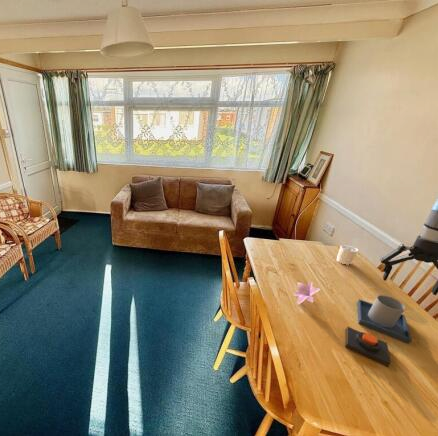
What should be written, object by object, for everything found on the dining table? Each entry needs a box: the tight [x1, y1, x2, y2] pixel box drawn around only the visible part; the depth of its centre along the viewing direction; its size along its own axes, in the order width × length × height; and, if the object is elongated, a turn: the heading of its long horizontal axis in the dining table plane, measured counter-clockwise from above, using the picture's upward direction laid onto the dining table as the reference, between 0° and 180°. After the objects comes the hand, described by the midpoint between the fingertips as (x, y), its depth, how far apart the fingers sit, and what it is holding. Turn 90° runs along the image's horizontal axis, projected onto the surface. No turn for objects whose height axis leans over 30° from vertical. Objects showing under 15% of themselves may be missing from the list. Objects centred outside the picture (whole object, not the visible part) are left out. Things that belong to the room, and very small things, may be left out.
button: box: [362, 332, 378, 346], centre depth 86 cm, size 4×4×2 cm
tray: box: [356, 298, 412, 345], centre depth 98 cm, size 15×15×2 cm
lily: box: [293, 281, 321, 306], centre depth 109 cm, size 12×12×10 cm
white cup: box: [336, 244, 359, 266], centre depth 136 cm, size 8×8×10 cm
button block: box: [344, 326, 391, 368], centre depth 87 cm, size 12×10×4 cm
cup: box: [368, 294, 406, 328], centre depth 97 cm, size 8×8×10 cm
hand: (407, 285), depth 91 cm, fingers open, 13 cm apart
